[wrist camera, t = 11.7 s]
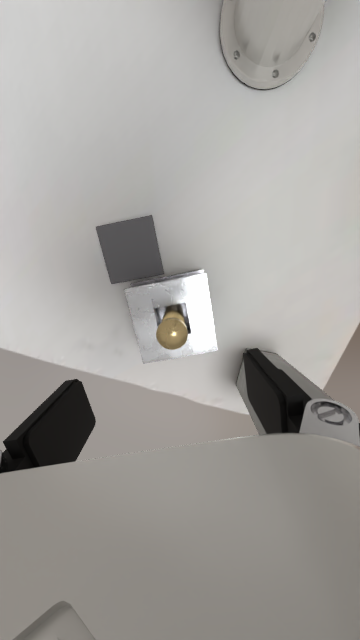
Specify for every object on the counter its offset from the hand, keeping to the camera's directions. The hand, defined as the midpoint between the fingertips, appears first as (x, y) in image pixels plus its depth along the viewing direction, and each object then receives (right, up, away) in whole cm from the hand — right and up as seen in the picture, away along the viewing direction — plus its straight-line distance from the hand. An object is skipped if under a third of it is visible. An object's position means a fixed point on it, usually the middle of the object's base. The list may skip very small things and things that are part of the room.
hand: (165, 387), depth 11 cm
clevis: (0, +5, +23) cm, 23 cm away
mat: (-7, +15, +20) cm, 26 cm away
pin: (0, +5, +21) cm, 22 cm away
